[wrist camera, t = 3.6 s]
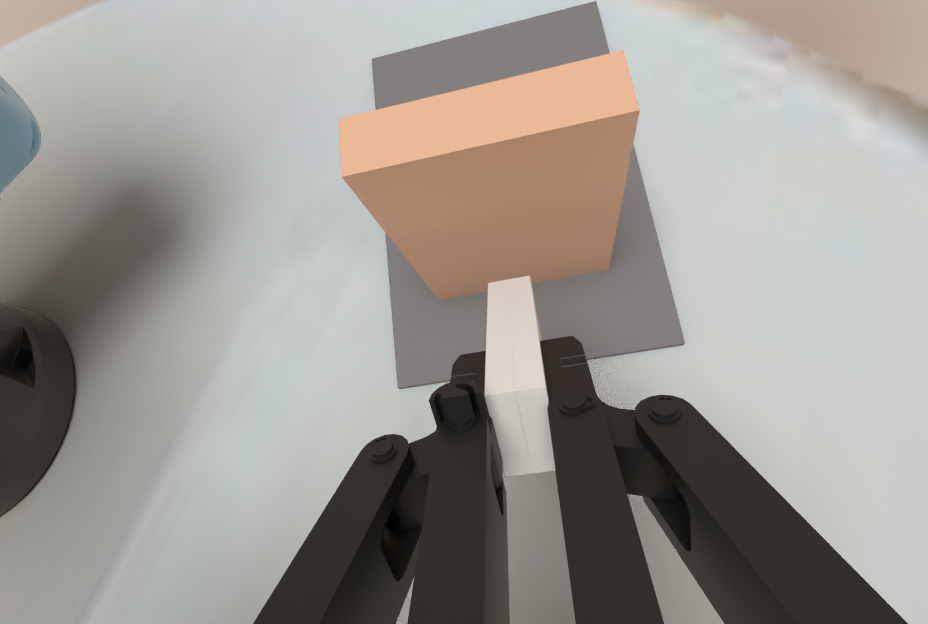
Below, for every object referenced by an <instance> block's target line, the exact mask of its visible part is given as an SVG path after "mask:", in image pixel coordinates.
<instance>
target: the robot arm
mask: <svg viewBox="0 0 928 624" xmlns="http://www.w3.org/2000/svg"><path fill="white" fill-rule="evenodd" d="M40 144H41V133H40V129H39V126H38V123H37V121H36V119H35V117H34V115H33V114H32V112H31V111H30V109H29V108H28V106H27V105H26V104H25V102H24V101H23V100H22V99H21V98H20V96H19V95H18V94H17V93H16V92H15V91H14V90H13V89H12V88H11V86H10V85H9V84H8V83H7V82H6V81H5V80H4V79H3V78H2V77H1V76H0V193H1V192H2V191H3V190H4V189H5V188H6V187H7V186H8V185H9V183H10V182H11V181H12V180H13V179H14V178H15V177H16V176H17V175H18V174H19V173H20V172H21V171H22V170H23V169H24V168H25V167H26V166H27V165H28V164H29V163H30V162H31V161H32V159H33V158H34V157H35V156H36V154H37V152H38V150H39V148H40ZM0 200H1V199H0ZM73 396H74V370H73V363H72V358H71V355H70V351H69V349H68V346H67V344H66V342H65V340H64V338H63V336H62V335H61V333H60V332H59V330H58V329H57V328H56V327H55V326H54V325H53V324H52V323H51V322H50V321H49V320H48V319H46V318H45V317H43V316H42V315H40V314H38V313H36V312H33V311H30V310H27V309H23V308H20V307H16V306H13V305H9V304H6V303H2V302H0V515H1V514H3V513H4V512H6V511H7V510H8V509H10V508H11V507H12V506H14V505H15V504H16V503H17V502H18V501H19V500H20V499H21V498H22V497H24V496H25V495H26V494H27V492H28V491H29V490H30V489H31V488H32V487H33V486H34V485H35V483H36V482H37V481H38V480H39V478H40V477H41V476H42V474H43V473H44V471H45V470H46V468H47V467H48V465H49V464H50V462H51V460H52V459H53V457H54V455H55V453H56V451H57V449H58V447H59V445H60V443H61V441H62V438H63V436H64V433H65V430H66V427H67V424H68V421H69V417H70V413H71V409H72V403H73ZM429 402H430V406H431V409H432V412H433V415H434V418H435V421H436V425H437V428H436V431H435V432H433V433H432V434H431V435H429V436H427V437H425V438H423V439H420V440H417V441H415V442H412V443H409V444H408V441H407V439H405V438H404V437H403V436H400V435H395V434H391V435H384V436H381V437H379V438H376V439H374V440H373V441H371V442H370V443H368V444H367V445H366V446H365V447H364V448H363V449H362V450H361V452H360V453H359V455H358V456H357V458H356V460H355V461H354V463H353V464H352V466H351V468H350V469H349V471H348V472H347V474H346V476H345V477H344V479H343V480H342V482H341V484H340V485H339V487H338V489H337V490H336V492H335V493H334V495H333V497H332V498H331V500H330V501H329V503H328V505H327V506H326V508H325V509H324V511H323V513H322V514H321V516H320V517H319V519H318V521H317V522H316V524H315V525H314V527H313V529H312V530H311V532H310V533H309V535H308V537H307V538H306V540H305V541H304V543H303V545H302V546H301V548H300V549H299V551H298V553H297V554H296V556H295V558H294V559H293V561H292V562H291V564H290V566H289V567H288V569H287V570H286V572H285V574H284V575H283V577H282V578H281V580H280V582H279V583H278V585H277V586H276V588H275V590H274V591H273V593H272V594H271V596H270V598H269V599H268V601H267V602H266V604H265V606H264V607H263V609H262V610H261V612H260V614H259V615H258V617H257V619H256V620H255V622H254V623H253V624H396V621H397V619H398V616H399V613H400V611H401V608H402V606H403V603H404V601H405V598H406V596H407V593H408V591H409V588H410V586H411V583H412V581H413V578H414V583H413V590H412V597H411V604H410V610H409V617H408V624H510V621H509V583H508V545H507V506H506V490H505V486H504V482H503V476H502V467H503V471H504V475H505V477H508V476H516V475H524V474H532V473H540V472H548V471H556V478H557V485H558V493H559V500H560V508H561V515H562V523H563V530H564V538H565V545H566V553H567V560H568V567H569V575H570V582H571V590H572V597H573V605H574V612H575V620H576V624H664V622H663V619H662V615H661V612H660V608H659V605H658V601H657V598H656V594H655V591H654V587H653V584H652V580H651V576H650V573H649V569H648V566H647V562H646V559H645V555H644V552H643V548H642V545H641V541H640V538H639V534H638V531H637V527H636V524H635V520H634V517H633V513H632V510H631V506H630V503H629V499H628V495H627V494H633V495H639V496H643V499H644V502H645V503H646V505H647V507H648V508H649V510H650V511H651V513H652V514H653V516H654V517H655V519H656V520H657V522H658V523H659V525H660V526H661V528H662V529H663V531H664V532H665V534H666V535H667V537H668V539H669V540H670V542H671V543H672V545H673V546H674V548H675V549H676V551H677V552H678V554H679V555H680V557H681V558H682V560H683V561H684V563H685V564H686V566H687V567H688V569H689V571H690V572H691V574H692V575H693V577H694V578H695V580H696V581H697V583H698V584H699V586H700V587H701V589H702V590H703V592H704V593H705V595H706V596H707V598H708V599H709V601H710V603H711V604H712V606H713V607H714V609H715V610H716V612H717V613H718V615H719V616H720V618H721V619H722V621H723V622H724V624H908V623H907V622H906V621H905V620H904V619H903V618H902V617H901V616H900V615H899V614H898V613H897V612H896V611H895V610H894V609H893V608H892V607H891V606H890V605H889V604H888V603H887V602H886V601H885V600H884V599H883V598H882V597H881V596H880V595H879V594H878V593H877V592H876V591H875V590H874V589H873V588H872V587H871V586H870V585H869V584H868V583H867V582H866V581H865V580H864V579H863V578H862V577H861V576H860V575H859V574H858V573H857V572H856V571H855V570H854V569H853V568H852V567H851V566H850V565H849V564H848V563H847V562H846V561H845V560H844V559H843V558H842V557H841V556H840V555H839V554H838V553H837V552H836V551H835V550H834V549H833V548H832V547H831V546H830V544H829V543H828V542H827V541H826V540H825V539H824V538H823V537H822V536H821V535H820V534H819V533H818V532H817V531H816V530H815V529H814V528H813V527H812V526H811V525H810V524H809V523H808V522H807V521H806V520H805V519H804V518H803V517H802V516H801V515H800V514H799V513H798V512H797V511H796V510H795V509H794V508H793V507H792V506H791V505H790V504H789V503H788V502H787V501H786V500H785V499H784V498H783V497H782V496H781V495H780V494H779V493H778V492H777V491H776V490H775V489H774V488H773V487H772V486H771V485H770V484H769V483H768V482H767V481H766V480H765V479H764V478H763V477H762V476H761V475H760V474H759V473H758V472H757V471H756V470H755V469H754V468H753V467H752V466H751V465H750V464H749V463H748V462H747V461H746V460H745V459H744V458H743V457H742V456H741V455H740V453H739V452H738V451H737V450H736V449H735V448H734V447H733V446H732V445H731V444H730V443H729V442H728V441H727V440H726V439H725V438H724V437H723V436H722V435H721V434H720V433H719V432H718V431H717V430H716V429H715V428H714V427H713V426H712V425H711V424H710V423H709V422H708V421H707V420H706V419H705V418H704V417H703V416H702V415H701V414H700V413H699V412H698V411H697V410H696V409H695V408H694V407H693V406H692V405H691V404H690V403H688V402H687V401H685V400H684V399H681V398H678V397H675V396H670V395H657V396H651V397H648V398H646V399H644V400H642V401H641V402H640V403H639V404H638V405H637V406H636V408H635V410H626V409H619V408H615V407H612V406H609V405H607V404H605V403H604V402H602V401H601V400H600V399H599V398H598V396H597V394H596V392H595V388H594V385H593V381H592V378H591V374H590V371H589V367H588V364H587V360H586V356H585V353H584V349H583V346H582V343H581V342H580V341H578V340H577V339H576V338H575V337H574V336H567V337H561V338H554V339H548V340H541V334H540V329H539V323H538V318H537V312H536V307H535V301H534V296H533V290H532V285H531V279H530V276H524V277H519V278H513V279H508V280H502V281H497V282H491V283H488V301H487V332H486V351H481V352H475V353H469V354H463V355H460V356H459V357H458V358H457V360H456V361H455V362H454V364H453V365H452V372H451V379H450V383H447V384H445V385H443V386H441V387H439V388H438V389H437V390H436V391H435V392H434V393H432V395H431V397H430V399H429ZM414 575H415V577H414Z"/></svg>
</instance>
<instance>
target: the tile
mask: <svg viewBox="0 0 928 624" xmlns="http://www.w3.org/2000/svg"><path fill="white" fill-rule="evenodd" d="M639 111H640V110H639V106H638V102H637V99H636V95H635V91H634V88H633V84H632V80H631V77H630V73H629V69H628V65H627V62H626V58H625V54H624V51H623V50H622V51H618V52H614V53H610V54H605V55H601V56H597V57H593V58H589V59H585V60H581V61H576V62H572V63H568V64H564V65H560V66H556V67H552V68H547V69H543V70H539V71H535V72H531V73H527V74H523V75H519V76H514V77H510V78H506V79H502V80H498V81H494V82H490V83H485V84H481V85H477V86H473V87H469V88H465V89H461V90H456V91H452V92H448V93H444V94H440V95H436V96H432V97H428V98H423V99H419V100H415V101H411V102H407V103H403V104H399V105H394V106H390V107H386V108H382V109H378V110H374V111H370V112H366V113H361V114H357V115H353V116H349V117H345V118H341V119H339V134H340V153H341V172H342V178H343V179H344V180H345V182H346V183H347V184H348V185H349V187H350V188H351V189H352V190H353V192H354V193H355V194H356V195H357V197H358V198H359V199H360V201H361V202H362V203H363V204H364V206H365V207H366V208H367V209H368V211H369V212H370V213H371V215H372V216H373V217H374V218H375V220H376V221H377V222H378V223H379V225H380V226H381V227H382V228H383V230H384V231H385V232H386V234H387V235H388V236H389V237H390V239H391V240H392V241H393V242H394V244H395V245H396V246H397V248H398V249H399V250H400V251H401V253H402V254H403V255H404V256H405V258H406V259H407V260H408V261H409V263H410V264H411V265H412V267H413V268H414V269H415V270H416V272H417V273H418V274H419V275H420V277H421V278H422V279H423V281H424V282H425V283H426V284H427V286H428V287H429V288H430V289H431V291H432V292H433V293H434V294H435V296H436V297H437V298H438V300H444V299H449V298H455V297H460V296H466V295H471V294H477V293H483V292H488V283H491V282H497V281H502V280H508V279H513V278H519V277H524V276H530V279H531V284H532V283H538V282H544V281H549V280H555V279H560V278H566V277H571V276H577V275H582V274H588V273H594V272H599V271H605V270H609V266H610V260H611V255H612V250H613V245H614V240H615V235H616V229H617V224H618V219H619V214H620V209H621V204H622V198H623V193H624V188H625V183H626V178H627V173H628V167H629V162H630V157H631V152H632V147H633V142H634V136H635V131H636V126H637V121H638V116H639Z"/></svg>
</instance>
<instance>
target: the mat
mask: <svg viewBox="0 0 928 624" xmlns="http://www.w3.org/2000/svg"><path fill="white" fill-rule="evenodd" d="M605 54H610V53H609V49H608V45H607V41H606V37H605V34H604V30H603V26H602V22H601V18H600V14H599V10H598V7H597V3H596V1H595V2H591V3H587V4H583V5H579V6H575V7H571V8H567V9H564V10H560V11H556V12H552V13H548V14H544V15H540V16H536V17H533V18H529V19H525V20H521V21H517V22H513V23H509V24H505V25H502V26H498V27H494V28H490V29H486V30H482V31H478V32H474V33H471V34H467V35H463V36H459V37H455V38H451V39H447V40H443V41H439V42H436V43H432V44H428V45H424V46H420V47H416V48H412V49H408V50H405V51H401V52H397V53H393V54H389V55H385V56H381V57H377V58H374V59H372V68H373V81H374V93H375V106H376V110H378V109H382V108H386V107H390V106H394V105H399V104H403V103H407V102H411V101H415V100H419V99H423V98H428V97H432V96H436V95H440V94H444V93H448V92H452V91H456V90H461V89H465V88H469V87H473V86H477V85H481V84H485V83H490V82H494V81H498V80H502V79H506V78H510V77H514V76H519V75H523V74H527V73H531V72H535V71H539V70H543V69H547V68H552V67H556V66H560V65H564V64H568V63H572V62H576V61H581V60H585V59H589V58H593V57H597V56H601V55H605ZM386 244H387V257H388V269H389V282H390V295H391V307H392V320H393V332H394V345H395V357H396V370H397V383H398V388H399V389H402V388H408V387H415V386H421V385H428V384H434V383H441V382H447V381H450V379H451V372H452V365H453V364H454V362H455V361H456V360H457V358H458V357H459V356H460V355H463V354H469V353H475V352H481V351H486V332H487V301H488V292H483V293H477V294H471V295H466V296H460V297H455V298H449V299H444V300H438V298H437V297H436V296H435V294H434V293H433V292H432V291H431V289H430V288H429V287H428V286H427V284H426V283H425V282H424V281H423V279H422V278H421V277H420V275H419V274H418V273H417V272H416V270H415V269H414V268H413V267H412V265H411V264H410V263H409V261H408V260H407V259H406V258H405V256H404V255H403V254H402V253H401V251H400V250H399V249H398V248H397V246H396V245H395V244H394V242H393V241H392V240H391V239H390V237H389V236H388V235H387V234H386ZM531 285H532V290H533V296H534V301H535V307H536V312H537V318H538V323H539V329H540V334H541V340H548V339H554V338H561V337H567V336H574V337H575V338H576V339H577V340H578V341H580V342H581V343H582V346H583V349H584V353H585V356H586V360H589V359H595V358H602V357H608V356H614V355H621V354H627V353H634V352H640V351H647V350H653V349H659V348H666V347H672V346H679V345H684V344H685V342H684V338H683V334H682V330H681V326H680V322H679V318H678V315H677V311H676V307H675V303H674V299H673V295H672V291H671V288H670V284H669V280H668V276H667V272H666V268H665V265H664V261H663V257H662V253H661V249H660V245H659V241H658V238H657V234H656V230H655V226H654V222H653V218H652V214H651V211H650V207H649V203H648V199H647V195H646V191H645V188H644V184H643V180H642V176H641V172H640V168H639V164H638V161H637V157H636V153H635V149H634V145H633V147H632V152H631V157H630V162H629V167H628V173H627V178H626V183H625V188H624V193H623V198H622V204H621V209H620V214H619V219H618V224H617V229H616V235H615V240H614V245H613V250H612V255H611V260H610V266H609V270H605V271H599V272H594V273H588V274H582V275H577V276H571V277H566V278H560V279H555V280H549V281H544V282H538V283H532V284H531Z"/></svg>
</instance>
